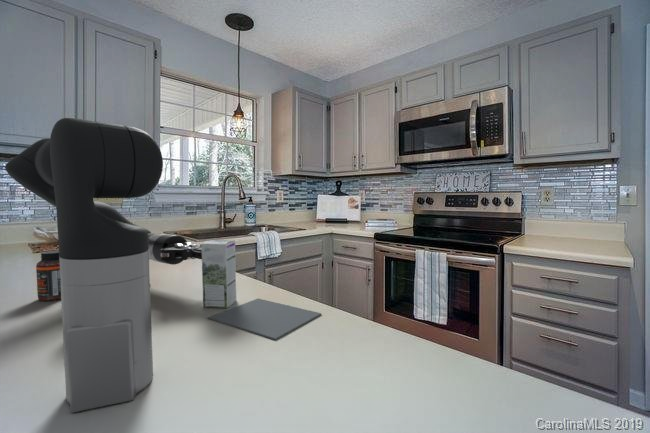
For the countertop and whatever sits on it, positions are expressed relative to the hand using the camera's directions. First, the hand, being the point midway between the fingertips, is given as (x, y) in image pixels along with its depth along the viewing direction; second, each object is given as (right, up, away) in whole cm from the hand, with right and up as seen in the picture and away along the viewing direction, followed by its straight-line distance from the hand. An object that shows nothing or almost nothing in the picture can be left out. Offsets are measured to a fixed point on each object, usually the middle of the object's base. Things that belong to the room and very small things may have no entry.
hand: (207, 254), depth 74 cm
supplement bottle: (-38, -11, +3) cm, 40 cm away
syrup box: (+3, -11, -2) cm, 12 cm away
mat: (+15, -12, -9) cm, 21 cm away
